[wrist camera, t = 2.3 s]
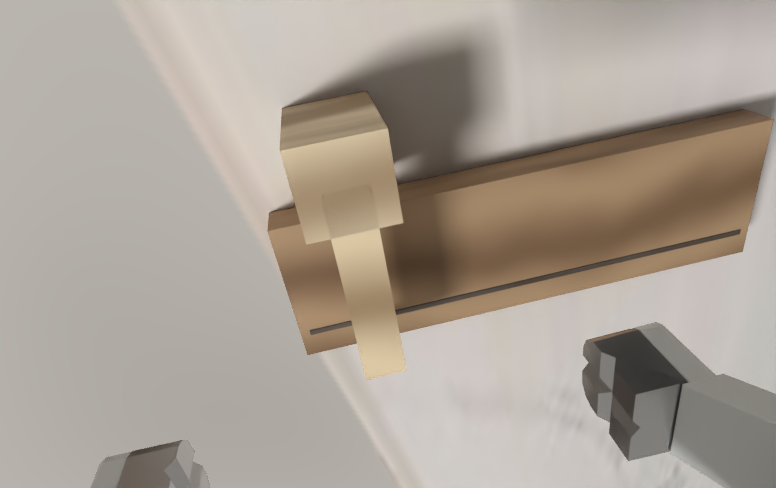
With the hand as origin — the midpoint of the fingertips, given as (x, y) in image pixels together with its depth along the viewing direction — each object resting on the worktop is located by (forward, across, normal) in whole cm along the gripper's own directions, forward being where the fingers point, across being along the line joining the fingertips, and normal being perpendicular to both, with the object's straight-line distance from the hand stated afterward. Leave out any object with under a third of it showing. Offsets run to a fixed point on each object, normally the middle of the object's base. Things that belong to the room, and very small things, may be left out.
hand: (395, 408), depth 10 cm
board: (+17, -9, +6) cm, 20 cm away
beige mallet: (+17, 0, +3) cm, 17 cm away
